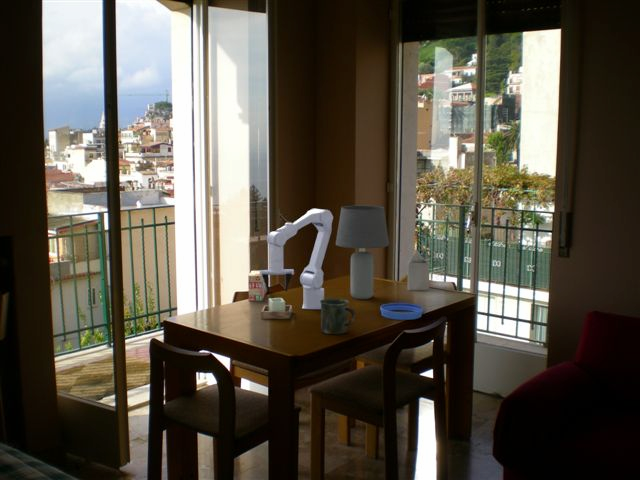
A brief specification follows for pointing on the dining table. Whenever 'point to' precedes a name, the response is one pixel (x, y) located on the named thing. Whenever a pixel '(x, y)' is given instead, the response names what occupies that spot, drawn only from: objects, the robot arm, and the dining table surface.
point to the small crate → (276, 305)
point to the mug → (335, 315)
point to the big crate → (276, 313)
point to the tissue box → (418, 273)
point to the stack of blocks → (256, 286)
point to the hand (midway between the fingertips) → (276, 291)
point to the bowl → (401, 311)
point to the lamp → (362, 243)
